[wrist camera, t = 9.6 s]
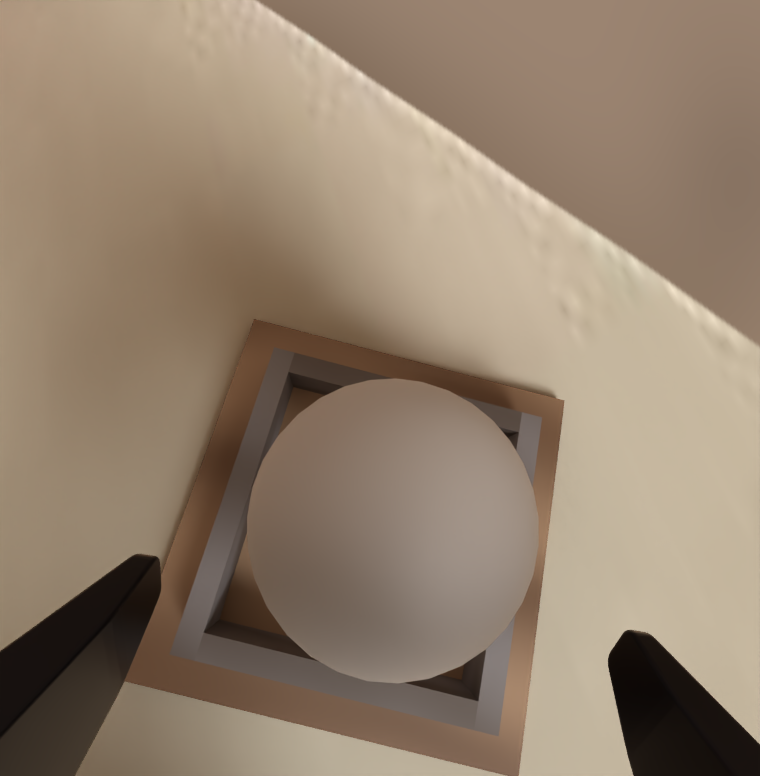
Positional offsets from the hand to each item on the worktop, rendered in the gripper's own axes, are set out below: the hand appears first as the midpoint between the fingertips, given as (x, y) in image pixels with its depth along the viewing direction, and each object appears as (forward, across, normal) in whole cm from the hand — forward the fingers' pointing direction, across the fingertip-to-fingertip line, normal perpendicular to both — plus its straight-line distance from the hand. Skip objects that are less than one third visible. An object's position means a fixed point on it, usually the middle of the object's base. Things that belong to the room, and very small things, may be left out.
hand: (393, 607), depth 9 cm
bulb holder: (+8, 0, +5) cm, 9 cm away
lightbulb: (+8, 0, +5) cm, 9 cm away
